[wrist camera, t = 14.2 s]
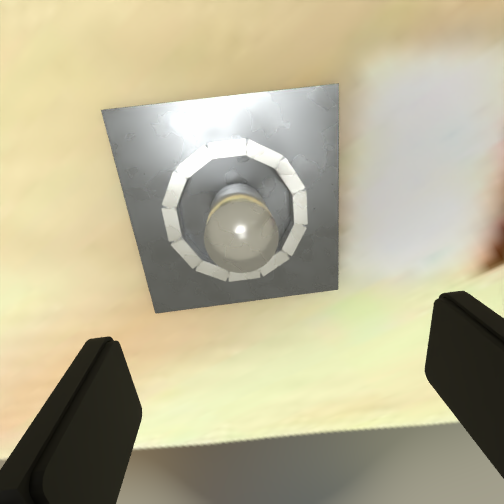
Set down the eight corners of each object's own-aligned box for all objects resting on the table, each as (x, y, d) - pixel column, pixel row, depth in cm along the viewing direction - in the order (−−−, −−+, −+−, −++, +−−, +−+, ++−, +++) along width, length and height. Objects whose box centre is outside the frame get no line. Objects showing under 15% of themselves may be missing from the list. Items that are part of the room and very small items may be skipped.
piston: (263, 180, 27) (276, 198, 20) (267, 234, 29) (280, 268, 21) (206, 186, 27) (198, 206, 19) (214, 240, 29) (209, 276, 21)
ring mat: (336, 84, 25) (345, 80, 23) (336, 286, 32) (343, 296, 30) (103, 110, 25) (93, 108, 23) (156, 310, 32) (152, 322, 30)
